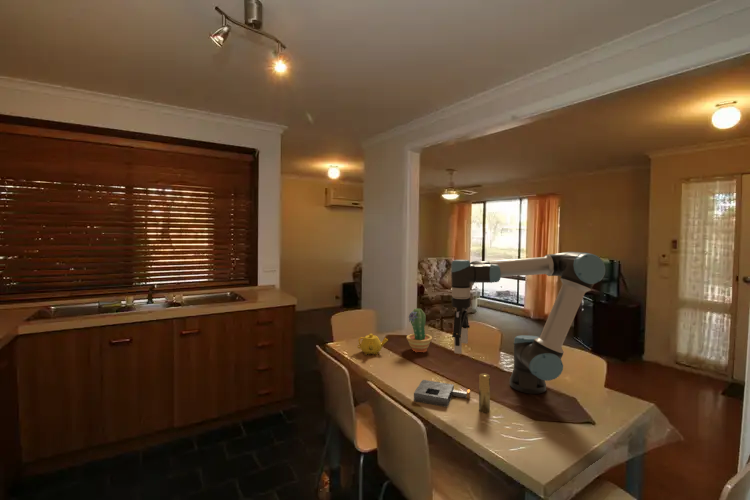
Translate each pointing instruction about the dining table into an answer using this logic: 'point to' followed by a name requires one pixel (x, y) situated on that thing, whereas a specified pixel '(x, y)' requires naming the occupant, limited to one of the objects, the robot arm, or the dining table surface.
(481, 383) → the cylinder
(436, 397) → the block
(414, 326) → the potted cactus
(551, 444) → the dining table surface
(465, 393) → the lock pin
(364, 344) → the teapot
